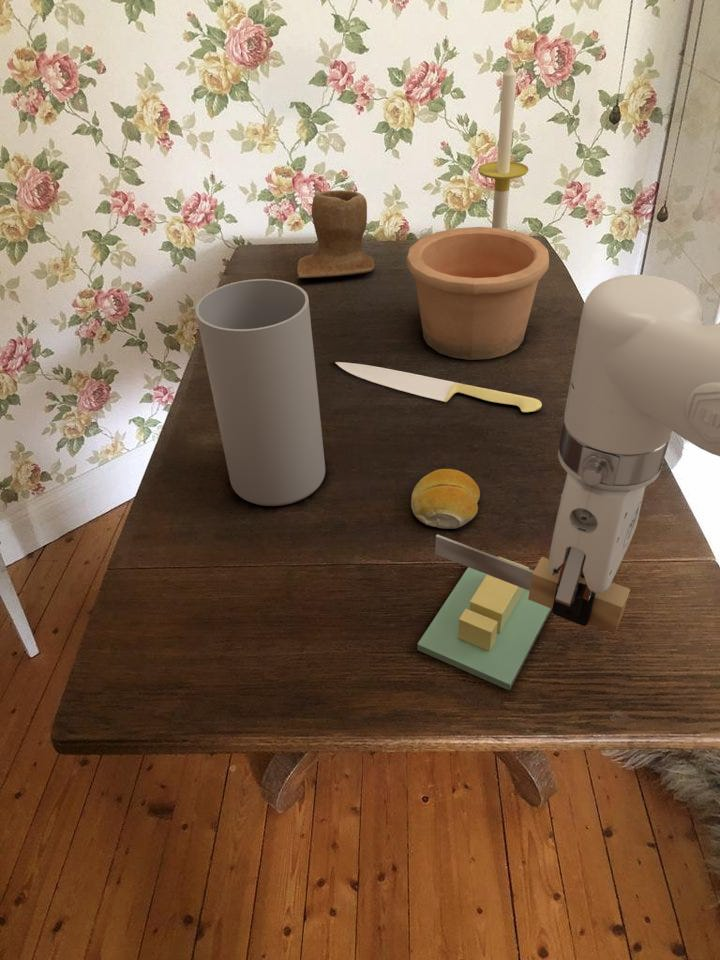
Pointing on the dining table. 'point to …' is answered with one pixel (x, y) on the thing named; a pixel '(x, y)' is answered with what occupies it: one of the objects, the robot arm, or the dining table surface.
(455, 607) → the butter dish
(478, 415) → the dining table surface
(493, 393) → the knife
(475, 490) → the bread roll
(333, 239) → the stone cup
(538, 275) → the pottery
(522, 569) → the wooden handled knife
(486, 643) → the butter slice
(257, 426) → the cylinder vase
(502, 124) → the candle
